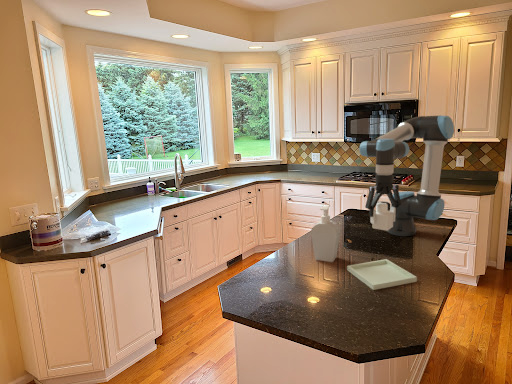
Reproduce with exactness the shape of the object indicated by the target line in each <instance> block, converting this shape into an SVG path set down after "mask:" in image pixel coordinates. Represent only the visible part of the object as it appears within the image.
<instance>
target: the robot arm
mask: <svg viewBox="0 0 512 384" xmlns="http://www.w3.org/2000/svg"><path fill="white" fill-rule="evenodd" d="M454 133H455V126H454V122H453V119H452V118H451V117H450V116H448V115H441V114H440V115H421V116H420V115H419V116H415V117H412V118H409V119H407V120H404V121H403V122H400V123H399V124H398V125H397V127H396V128H393V129H392V130H390V131H388V132H387V133H384V134H382V135H380V136H378V137H377V138H374V139H373V140H365V141H362V142H361V143H360V145H359V149H358V151H359V154H360V155H361V156H362V157H367V158H375V181H374V182H375V185H374V186H369V188H368V195H367V199H366V203H365V206H364V207H365V208H366V209H368V216H369V218H370V219H369V220H370V221H369V222H370V223H371V224H375V214H376V204H377V203H378V202H379V201H380V198H381V197H382V196H385V195H386V196H387V198H388V200H389V203H390V212H393V213H394V214H393V227H392V228H390V229H389V230H388V231H387V233H388V234H390V235H393V236H398V237H412V236H415V235H416V233H417V228H416V224H415V222H414V218H418V219H423V220H430V221H437V220H438V219H440V217H441V216H442V214H443V212H444V210H445V206H446V204H445V200H444V199H443V198H441V197H442V194H441V193H440V192H439V188H440V182H441V181H440V180H441V173H442V172H441V171H442V164H443V157H444V156H443V155H444V149H445V145H446V144H448V141H449V140H450V139H452V138H453V137H454V136H453V135H455V134H454ZM410 139H422V143H424V144H425V146H424V147H425V148H424V156H423V164H422V175H421V182H420V189H419V190H418V191H417V192H416V195H415V192H414V191H399V187H400V186H399V185H398V184H393V183H394V172H395V171H394V167H395V166H394V165H395V162H394V161H395V160H396V159H402V158H405V157H407V155H408V154H409V153H410V146H409V144H408V143H407V142H405V141H409V140H410Z"/></svg>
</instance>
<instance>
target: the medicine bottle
mask: <svg viewBox="0 0 512 384" xmlns="http://www.w3.org/2000/svg"><path fill="white" fill-rule="evenodd" d="M375 210H376V214H375V224H372V223H371V224H372V226H371V227H372V229H375V230H381V231H386V232H388V230H389V229H390V228H392V227H393V214H394V213H393V212H390V210H391V202H388V201H378V202H377V204H376V206H375Z"/></svg>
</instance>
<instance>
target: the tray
mask: <svg viewBox="0 0 512 384" xmlns="http://www.w3.org/2000/svg"><path fill="white" fill-rule="evenodd" d="M346 270H347V271H348V272H349V273H350V274H351V275H353V276H354V277H356V278H357V279H358V280H359V281H361V282H362V283H363V284H365V285H366V286H367V287H369V288H370V289H371V290H373V291H374V290H375V291H376V290H380V289H386V288H391V287H396V286H401V285H407V284H411V283H417V282H418V277H417V276H416V275H414V274H413V273H412V272H409V271H408V270H406V269H404V268H403V267H400V266H399V265H397V264H396V263H394V262H392V261H390V260H389V259H387V258H385V259H379V260H374V261H366V262H361V263H356V264H349V265H347V266H346Z"/></svg>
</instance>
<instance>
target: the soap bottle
mask: <svg viewBox="0 0 512 384" xmlns="http://www.w3.org/2000/svg"><path fill="white" fill-rule="evenodd" d="M330 207H331V205H330V204H324V205H322V206H321V208H320V210H321V211H323V214H322V215H321V214H320V219H321V220H319V221H318V222H316V223H315V225H313V227H311V228H310V229H311V230H310V237H311V242H312V248H313V254H314V259H315V261H322V262H328V263H334V261H335V259H336V258H337V254H338V248H339V244H340V243H339V242H340V235H341V232H342V231H341V230H342V229H341V226H340V225H339V224H338V223H337V222H336V221H333V220H331V215H330V214H328V213H329V208H330Z"/></svg>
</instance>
